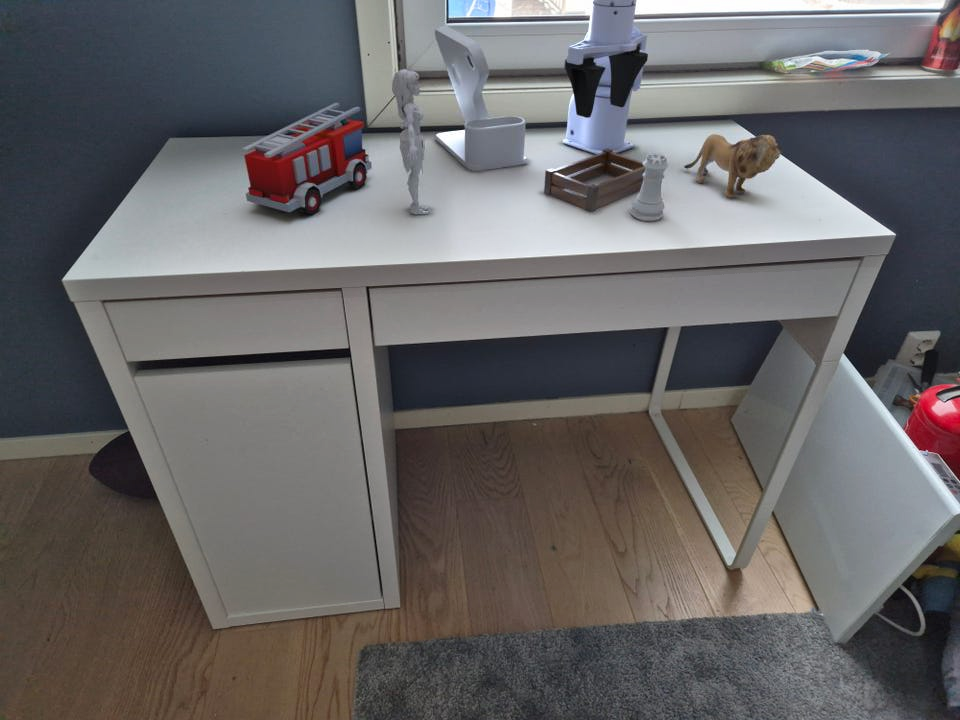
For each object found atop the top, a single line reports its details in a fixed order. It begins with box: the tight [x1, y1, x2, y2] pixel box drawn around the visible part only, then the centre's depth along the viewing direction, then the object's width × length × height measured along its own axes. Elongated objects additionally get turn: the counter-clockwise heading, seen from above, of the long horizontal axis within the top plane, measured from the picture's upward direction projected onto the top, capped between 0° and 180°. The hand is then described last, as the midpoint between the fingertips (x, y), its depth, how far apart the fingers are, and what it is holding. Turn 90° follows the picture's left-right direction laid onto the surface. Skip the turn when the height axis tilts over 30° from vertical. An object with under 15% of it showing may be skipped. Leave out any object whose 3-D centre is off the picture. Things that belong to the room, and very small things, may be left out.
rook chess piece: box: [630, 153, 669, 222], centre depth 86 cm, size 4×4×8 cm
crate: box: [543, 149, 645, 213], centre depth 94 cm, size 9×14×3 cm, turn 132°
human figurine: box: [391, 68, 429, 215], centre depth 83 cm, size 12×4×18 cm, turn 10°
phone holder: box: [434, 25, 527, 172], centre depth 103 cm, size 17×10×18 cm, turn 23°
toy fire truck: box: [241, 102, 373, 216], centre depth 90 cm, size 9×19×10 cm, turn 152°
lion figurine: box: [683, 133, 782, 199], centre depth 94 cm, size 15×5×9 cm, turn 33°
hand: (600, 110), depth 93 cm, fingers open, 7 cm apart
